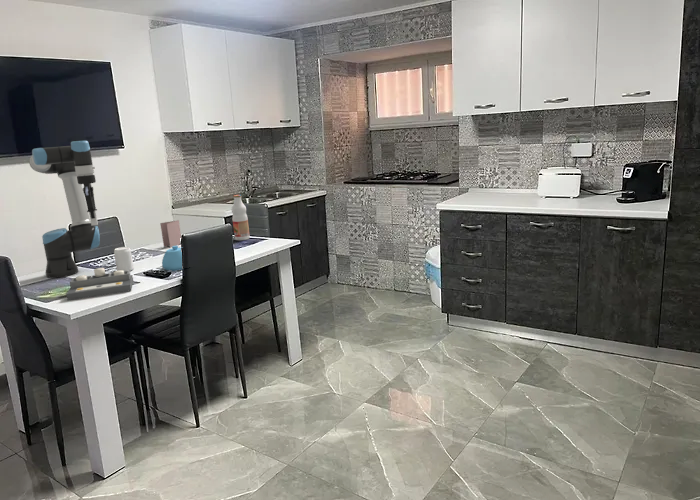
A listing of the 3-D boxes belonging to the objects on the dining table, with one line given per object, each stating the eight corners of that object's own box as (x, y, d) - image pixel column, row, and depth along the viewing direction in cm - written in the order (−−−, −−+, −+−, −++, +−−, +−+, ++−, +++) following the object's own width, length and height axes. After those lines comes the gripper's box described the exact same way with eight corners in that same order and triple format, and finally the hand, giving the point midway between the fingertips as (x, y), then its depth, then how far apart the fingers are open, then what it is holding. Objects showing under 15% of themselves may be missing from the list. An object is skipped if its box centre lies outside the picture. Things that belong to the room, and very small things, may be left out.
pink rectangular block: (181, 243, 336) (178, 220, 332) (185, 245, 330) (181, 221, 326) (163, 246, 329) (159, 222, 326) (166, 248, 323) (163, 224, 320)
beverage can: (128, 272, 271) (124, 250, 268) (114, 273, 273) (110, 250, 270) (137, 268, 279) (133, 246, 276) (123, 268, 280) (119, 246, 278)
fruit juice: (247, 240, 331) (242, 195, 324) (233, 241, 332) (227, 196, 325) (251, 237, 340) (246, 193, 333) (237, 237, 341) (232, 194, 334)
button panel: (74, 289, 247) (71, 277, 246) (133, 280, 255) (131, 268, 254) (67, 300, 231) (64, 287, 229) (131, 291, 238) (128, 278, 237)
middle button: (95, 274, 245) (94, 268, 245) (106, 273, 247) (104, 267, 246) (94, 277, 241) (93, 270, 241) (105, 275, 243) (103, 269, 242)
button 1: (77, 282, 244) (76, 276, 243) (88, 281, 245) (87, 274, 244) (76, 285, 240) (75, 278, 239) (86, 283, 241) (85, 277, 240)
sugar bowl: (198, 265, 276) (195, 244, 273) (172, 273, 265) (169, 250, 262) (183, 262, 286) (180, 241, 283) (157, 269, 275) (154, 247, 272)
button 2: (115, 277, 248) (114, 271, 248) (125, 275, 250) (124, 269, 249) (114, 279, 244) (113, 273, 244) (124, 278, 246) (123, 271, 245)
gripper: (92, 175, 239) (101, 226, 244) (96, 173, 251) (104, 221, 256) (74, 176, 236) (84, 228, 242) (78, 174, 249) (88, 223, 254)
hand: (94, 224), depth 249 cm, fingers closed
